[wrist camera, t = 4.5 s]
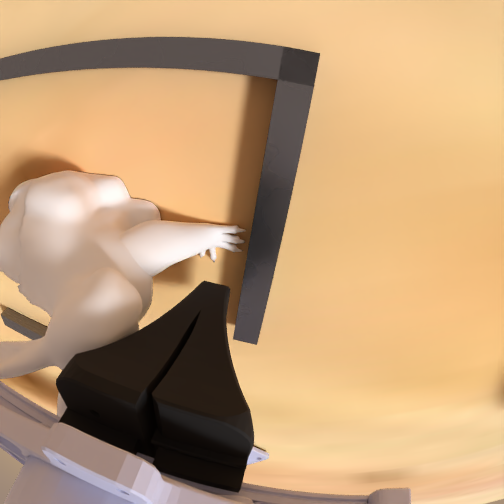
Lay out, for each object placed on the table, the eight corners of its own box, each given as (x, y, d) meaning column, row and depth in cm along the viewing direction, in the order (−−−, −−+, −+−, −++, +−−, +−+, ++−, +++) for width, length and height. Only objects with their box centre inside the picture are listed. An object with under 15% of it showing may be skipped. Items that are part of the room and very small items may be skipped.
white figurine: (252, 230, 14) (164, 446, 5) (201, 338, 18) (136, 494, 9) (40, 137, 13) (-116, 219, 5) (35, 249, 17) (-67, 347, 9)
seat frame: (241, 402, 20) (238, 414, 19) (11, 317, 22) (4, 324, 21) (319, 56, 10) (320, 53, 9) (-32, 70, 11) (-43, 72, 10)
